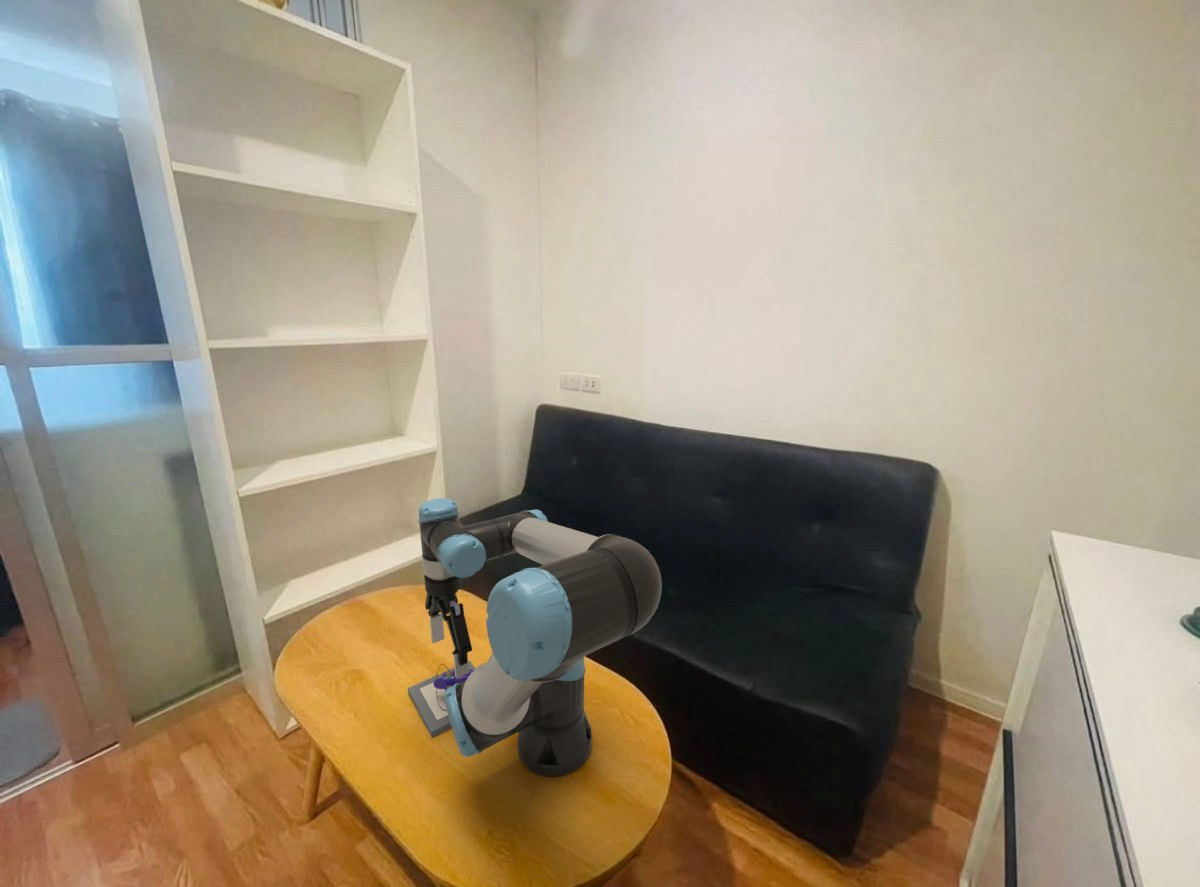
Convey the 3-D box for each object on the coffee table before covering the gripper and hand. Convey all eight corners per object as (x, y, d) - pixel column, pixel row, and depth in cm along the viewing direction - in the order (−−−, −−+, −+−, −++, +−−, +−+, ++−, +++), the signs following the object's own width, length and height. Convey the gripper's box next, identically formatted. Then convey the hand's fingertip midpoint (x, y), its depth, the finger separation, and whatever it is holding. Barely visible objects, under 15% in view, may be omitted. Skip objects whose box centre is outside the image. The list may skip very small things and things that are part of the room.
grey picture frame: (497, 703, 109) (497, 697, 109) (431, 737, 100) (431, 731, 100) (470, 665, 121) (469, 659, 120) (408, 693, 112) (407, 687, 111)
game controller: (460, 654, 116) (487, 665, 110) (458, 690, 116) (484, 703, 109) (423, 665, 109) (449, 677, 102) (420, 703, 108) (446, 718, 102)
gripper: (485, 592, 95) (490, 682, 100) (438, 543, 113) (444, 622, 119) (448, 605, 90) (455, 699, 96) (405, 553, 109) (413, 634, 115)
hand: (449, 656), depth 107 cm, fingers open, 13 cm apart
